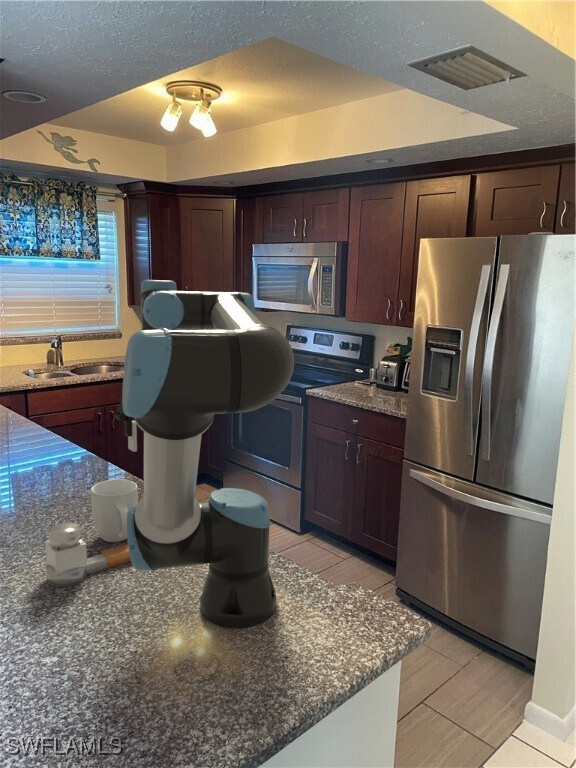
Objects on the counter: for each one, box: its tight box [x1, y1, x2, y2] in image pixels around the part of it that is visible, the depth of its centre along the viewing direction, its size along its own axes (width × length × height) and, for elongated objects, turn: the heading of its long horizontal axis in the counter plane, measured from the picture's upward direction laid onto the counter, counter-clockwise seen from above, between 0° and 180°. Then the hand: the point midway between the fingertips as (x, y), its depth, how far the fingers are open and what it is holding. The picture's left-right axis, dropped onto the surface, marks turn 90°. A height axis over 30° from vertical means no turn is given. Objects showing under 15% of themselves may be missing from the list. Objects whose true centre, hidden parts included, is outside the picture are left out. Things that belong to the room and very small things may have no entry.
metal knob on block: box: [44, 522, 88, 575], centre depth 119 cm, size 6×6×8 cm
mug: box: [90, 478, 139, 543], centre depth 137 cm, size 15×11×13 cm
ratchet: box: [45, 543, 131, 588], centre depth 124 cm, size 8×22×6 cm, turn 130°
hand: (160, 444), depth 126 cm, fingers open, 13 cm apart
